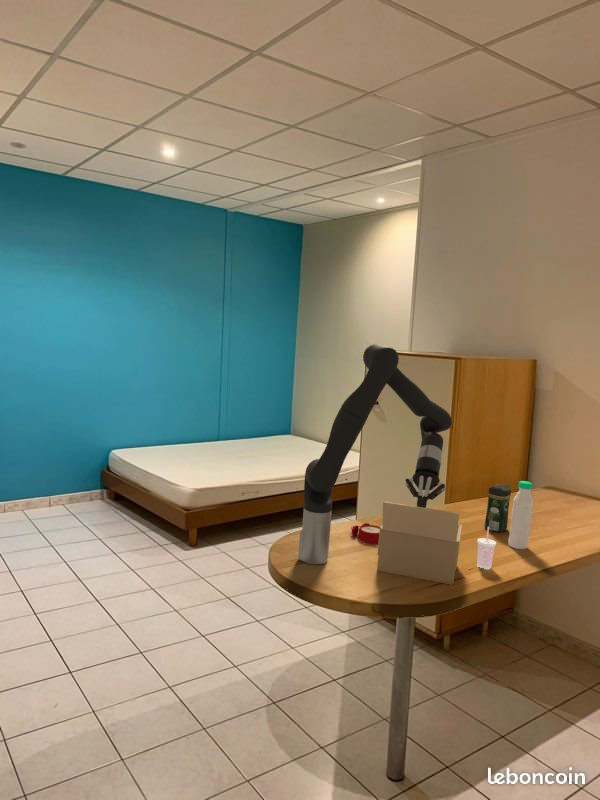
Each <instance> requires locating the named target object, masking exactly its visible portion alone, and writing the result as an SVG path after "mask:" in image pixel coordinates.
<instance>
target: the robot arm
mask: <svg viewBox="0 0 600 800" xmlns="http://www.w3.org/2000/svg"><path fill="white" fill-rule="evenodd" d="M362 355H363V356H362V361H363V363H364V365H365V367H366V369H368V371H366V372H367V373H366V374H365V377H364V379H363V381H362V382H361V383H360V385H359V386H358V387H357V388H356V389H355V390H354V391H353V392H352V393H350V394H349V396H347V397H346V399H345V400H344V401H343V403H342V404H341V406H340V408H339V410H338V411H337V414H336V416H335V418H334V420H333V423H332V426H331V429H330V433H329V436H328V437H329V438H328V441H327V444H326V446H325V448H324V450H323V452H322V454H321V455H320V458H317V459H313V460H312V461H310V462H309V463H308V464H307V467H306V468H305V472H304V486H303V514H302V528H301V531H299V542H298V555H297V560H298V561H302V562H303V563H304V564H305V563H306V564H309V565H323V564H326V563H327V562H328V559H329V547H330V538H331V526H332V525H331V524H332V511H333V498H332V497H333V496H332V495H333V494H332V490H333V487H334V486H335V484H336V482H337V480H338V477H339V476H340V472H341V471H342V468H343V465H344V462H345V461H346V458H347V456H348V454H349V452H350V451H351V449H352V447H353V446H354V444H355V442H356V441H357V439H358V436H359V435H360V433H361V431H362V430H363V428H364V426H365V424H366V422H367V420H368V417H369V416H370V414H371V412H372V410H373V409H374V406H375V404H376V403H377V401H378V399H379V397H380V395H381V393H382V391H383V390H384V388H385V386H386V385H387V386H388V387H390V388H391V389H392V390H393V392H394V393H395V394H396V395H397V396H398V397H399V399H400V400H402V402H403V403H404V404H405V405H406V406H407V408H409V410H410V411H411V412H412V413H413V414H414V415H415V416H417V417H421V419H420V422H419V429H420V435H421V444H420V449H419V452H418V455H417V462H416V466H415V470H414V474H413V475H412V477H411V478H405V486H406V487H407V489H408V490H409V492H410V494H411V495H412V497H413V498H417V501H416V506H417V507H424V508H427V504H428V500H431V501H433V500H435V498H437V497H438V496H439V495H441V494H442V493H443V492H445V490H446V485H445V483H443V482H440V479H441V478H440V477H439V476H440V471H441V464H442V460H443V459H442V455H443V454H442V453H443V447H444V446H443V445H444V438H443V437H442V435H441V434H439V433H441V432H445V431H448V430H449V429H450V428H451V427H452V424H453V419H452V417H451V415H450V413H449V412H448V411H447V410H446V409H445V408H443V407H442V406H440V405H438V404H437V403H436V402H434V401H433V400H431V399H430V398H429V397H428V396H427V395H426V393H424V391H423V390H422V389H421V388H420V387H419V386H418V385H417V384H416V383H415V382H414V381H412V380H411V379H410V378H409V377H407V375H405V374H404V373H403V371H401V370H400V369H399V367H398V365H399V362H400V361H399V360H400V359H399V358H400V357H399V354H398V352H397V350H396V349H395V348H393V347H390V346H388V345H384V344H379V343H374V344H370V345H369V346H367V347H366V348H365V350H364V352H363V354H362ZM414 484H415V486H414ZM415 487H416V488H417V489H418V491H417V489H416V488H415Z"/></svg>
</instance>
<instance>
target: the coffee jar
mask: <svg viewBox="0 0 600 800" xmlns="http://www.w3.org/2000/svg"><path fill="white" fill-rule="evenodd" d="M487 493H488V494H487V507H486V514H485V519H484V520H485V521H484V529H486V530H487V529H488V527H489V532H494V533H495V532H497V533H502V532H504V531H506V530H507V529H508V521H509V510H510V509H509V508H510V500H511V495H512V494H511V493H512V489H511V487H510V486H509V485H507V484H504V483H498V484H495V485H491V486H489V487H488V492H487Z"/></svg>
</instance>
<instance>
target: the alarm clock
mask: <svg viewBox="0 0 600 800" xmlns="http://www.w3.org/2000/svg"><path fill="white" fill-rule="evenodd" d="M380 527H381V526H379V525H374V524H370V523H368V522H365V523H362V525H361V526H360V525H353V526H351V527H350V529H351V535H352V537H355V536H356V539H357V540H358V541H360V542H362V543H367V544H375V545H378V543H379V532H380Z"/></svg>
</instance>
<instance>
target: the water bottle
mask: <svg viewBox="0 0 600 800" xmlns="http://www.w3.org/2000/svg"><path fill="white" fill-rule="evenodd" d="M532 489H533V483H532V482H530V481H526V480H520V481H518V492H516V495H515V496H514V498H513V499H512V501H513V505H512V510H511V518H510V527H509V536H508V542H507V544H508V546H509V547H511V548H513V549H516V550H526V549H528V548H529V537H530V532H531V531H530V530H531V529H530V528H531V525H532V524H531V523H532V518H533V505H534V499H533V497H532V494H531V491H532Z"/></svg>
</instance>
